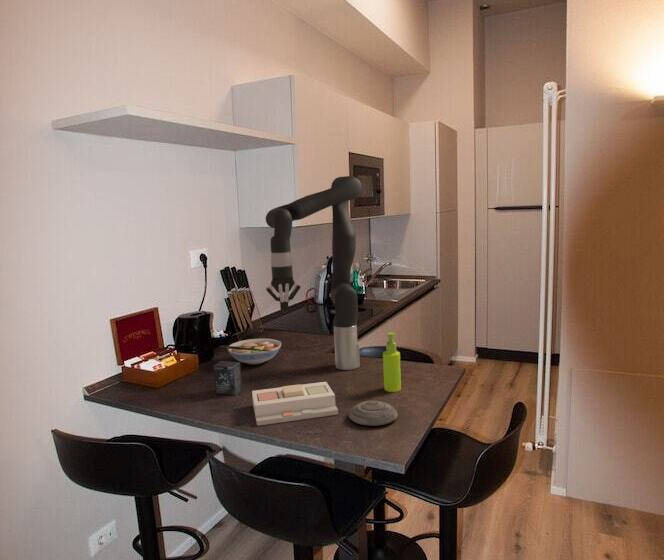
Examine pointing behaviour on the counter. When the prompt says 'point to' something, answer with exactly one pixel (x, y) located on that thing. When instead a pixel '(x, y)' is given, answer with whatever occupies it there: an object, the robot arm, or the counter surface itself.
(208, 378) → the counter surface
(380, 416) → the flying saucer
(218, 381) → the box
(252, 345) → the ramen bowl
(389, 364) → the soap dispenser
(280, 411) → the keypad
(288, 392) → the sand key
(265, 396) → the coral key
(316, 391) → the sage key
